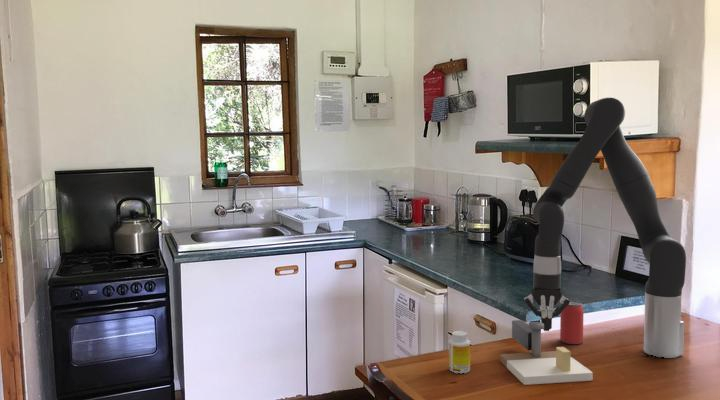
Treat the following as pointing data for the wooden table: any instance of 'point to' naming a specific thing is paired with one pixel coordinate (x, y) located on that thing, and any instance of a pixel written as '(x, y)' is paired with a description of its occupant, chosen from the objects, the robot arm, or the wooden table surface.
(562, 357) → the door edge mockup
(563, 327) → the beer can
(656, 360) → the wooden table surface
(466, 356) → the supplement bottle
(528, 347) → the block
